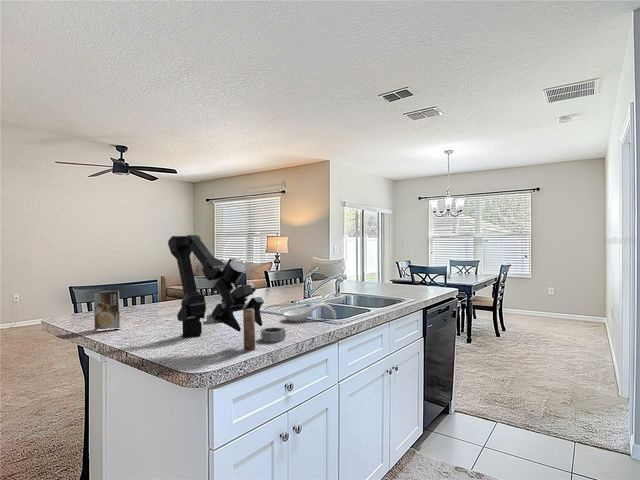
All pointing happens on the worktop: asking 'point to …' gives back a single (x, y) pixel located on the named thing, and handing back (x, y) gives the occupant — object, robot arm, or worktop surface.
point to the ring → (273, 334)
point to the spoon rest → (305, 312)
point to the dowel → (249, 329)
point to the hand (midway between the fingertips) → (251, 327)
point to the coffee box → (106, 309)
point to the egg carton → (210, 319)
